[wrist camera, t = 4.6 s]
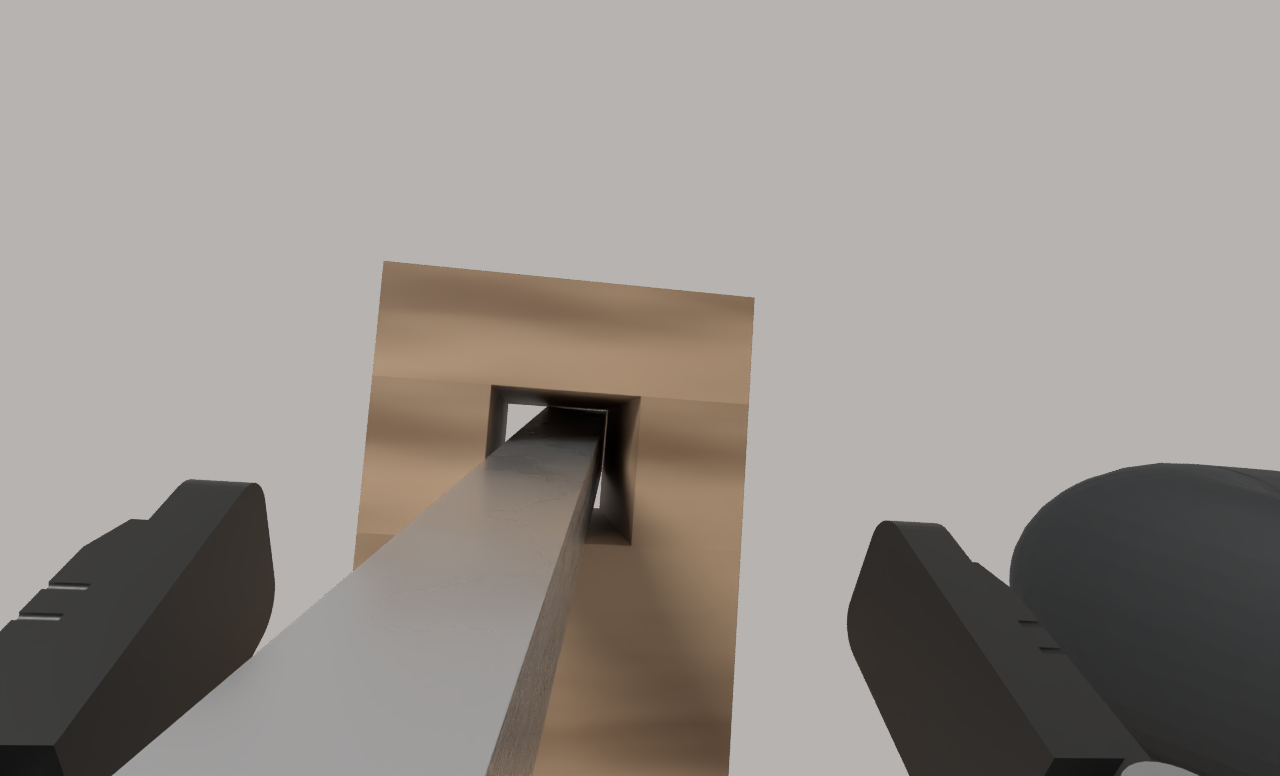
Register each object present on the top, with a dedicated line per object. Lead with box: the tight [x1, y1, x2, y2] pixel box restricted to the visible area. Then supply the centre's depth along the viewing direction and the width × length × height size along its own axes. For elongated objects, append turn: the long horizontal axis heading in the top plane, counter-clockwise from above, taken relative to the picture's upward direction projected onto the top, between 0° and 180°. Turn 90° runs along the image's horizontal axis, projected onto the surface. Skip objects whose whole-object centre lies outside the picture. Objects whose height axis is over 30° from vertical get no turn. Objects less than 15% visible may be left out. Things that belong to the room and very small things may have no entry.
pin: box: [112, 406, 607, 776], centre depth 16 cm, size 24×2×2 cm, turn 1°
